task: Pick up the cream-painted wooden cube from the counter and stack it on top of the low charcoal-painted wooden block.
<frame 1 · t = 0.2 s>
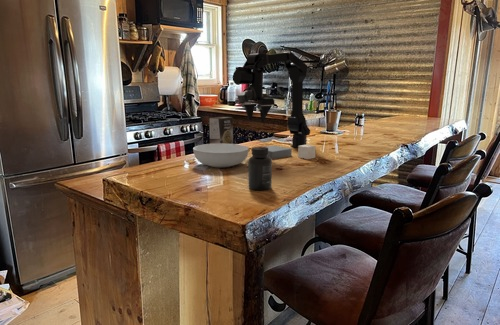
hand: (256, 121, 156), 14 cm above the table, fingers open, 9 cm apart
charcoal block: (273, 156, 156), on the table
serving bowl: (221, 165, 137), on the table
coffee box: (221, 154, 158), on the table
supplement bottle: (259, 188, 107), on the table
cream cube: (306, 157, 151), on the table
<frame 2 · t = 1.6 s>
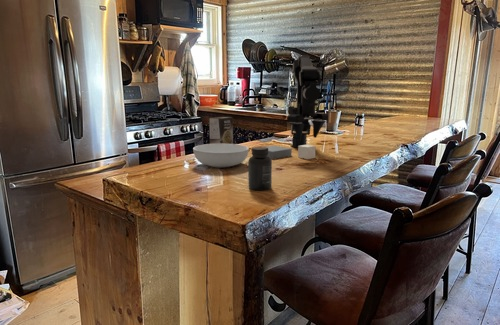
hand: (307, 138, 150), 8 cm above the table, fingers open, 9 cm apart
nothing on the table moved.
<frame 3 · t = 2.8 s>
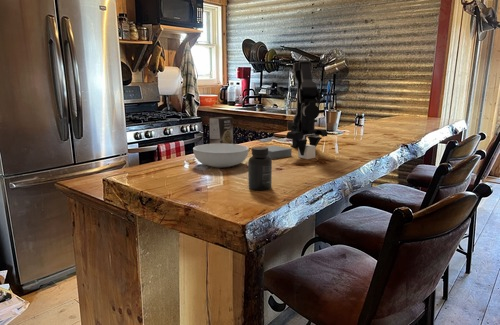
hand: (306, 154, 151), 1 cm above the table, fingers closed on cream cube, 5 cm apart
cream cube: (306, 157, 151), on the table, touching gripper
everything else where it was.
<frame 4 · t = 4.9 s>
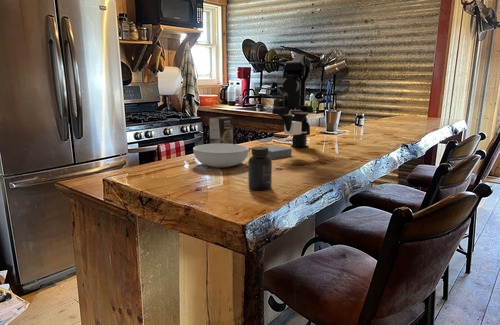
hand: (292, 130, 151), 11 cm above the table, fingers closed on cream cube, 5 cm apart
cream cube: (292, 133, 151), point 10 cm above the table, touching gripper
everything else where it was.
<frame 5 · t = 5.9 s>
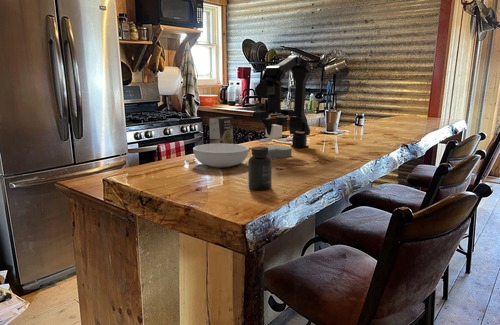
hand: (273, 134, 154), 9 cm above the table, fingers closed on cream cube, 5 cm apart
cream cube: (273, 137, 154), point 8 cm above the table, touching gripper
everything else where it was.
when the fingers open (6 cm above the table, at t = 6.9 s): cream cube drops 2 cm, resting on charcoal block.
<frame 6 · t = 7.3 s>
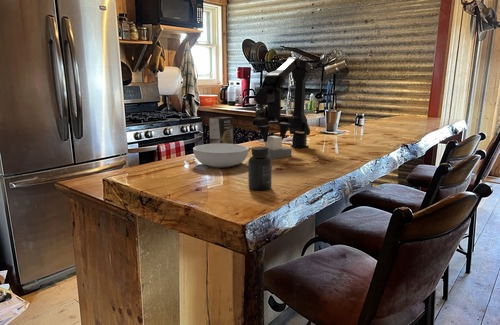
hand: (273, 141, 154), 6 cm above the table, fingers open, 9 cm apart
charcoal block: (273, 156, 156), on the table, touching cream cube
cream cube: (273, 148, 155), point 3 cm above the table, touching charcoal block
everything else where it was.
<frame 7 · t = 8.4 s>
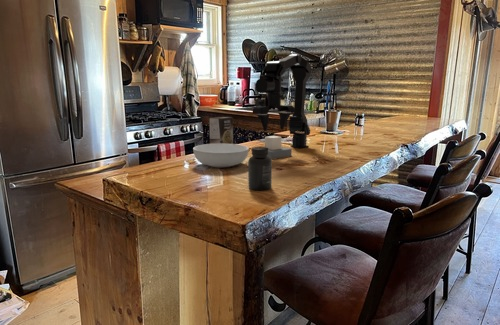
hand: (273, 130, 153), 11 cm above the table, fingers open, 9 cm apart
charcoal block: (273, 156, 156), on the table
cream cube: (273, 148, 155), point 3 cm above the table
everything else where it was.
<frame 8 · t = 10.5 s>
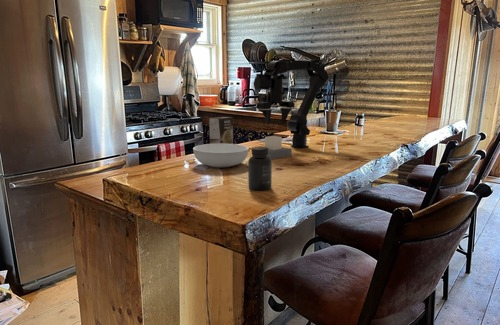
hand: (275, 123, 167), 12 cm above the table, fingers open, 9 cm apart
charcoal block: (273, 156, 156), on the table, touching cream cube
cream cube: (273, 148, 155), point 3 cm above the table, touching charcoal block
everything else where it was.
at the end: cream cube 0.1 cm off-centre on the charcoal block, point 3.5 cm above the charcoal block's base; cream cube tilted 0°; cream cube touching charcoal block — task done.
